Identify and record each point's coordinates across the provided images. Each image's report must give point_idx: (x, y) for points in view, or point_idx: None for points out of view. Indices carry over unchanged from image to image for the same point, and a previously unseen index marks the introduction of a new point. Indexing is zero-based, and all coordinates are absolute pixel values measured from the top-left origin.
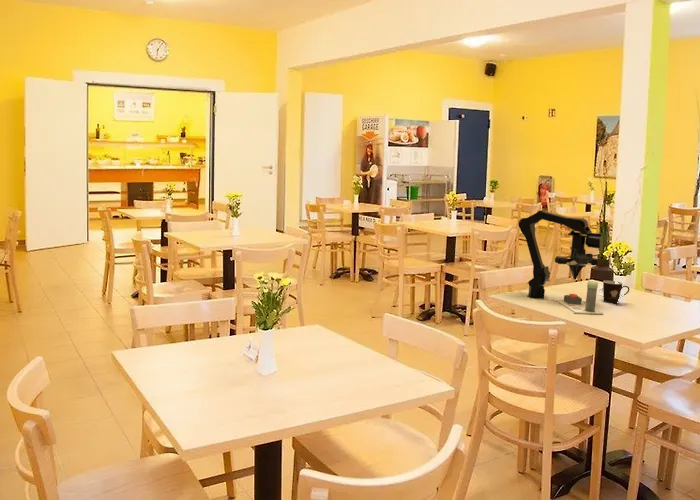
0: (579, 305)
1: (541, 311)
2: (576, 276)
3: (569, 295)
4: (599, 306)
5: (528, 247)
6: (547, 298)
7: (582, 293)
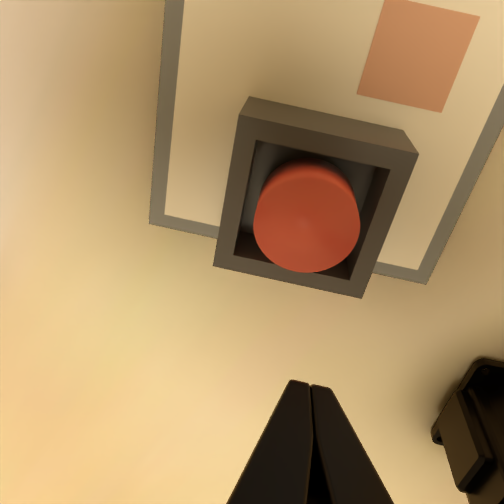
0: (306, 42)
1: None
2: (291, 429)
3: (356, 231)
4: (29, 55)
5: None
6: (397, 391)
7: (15, 459)
